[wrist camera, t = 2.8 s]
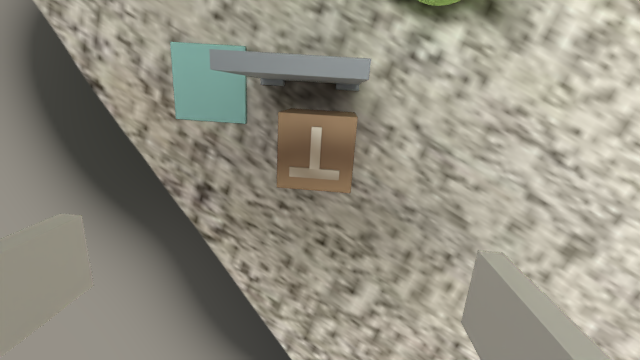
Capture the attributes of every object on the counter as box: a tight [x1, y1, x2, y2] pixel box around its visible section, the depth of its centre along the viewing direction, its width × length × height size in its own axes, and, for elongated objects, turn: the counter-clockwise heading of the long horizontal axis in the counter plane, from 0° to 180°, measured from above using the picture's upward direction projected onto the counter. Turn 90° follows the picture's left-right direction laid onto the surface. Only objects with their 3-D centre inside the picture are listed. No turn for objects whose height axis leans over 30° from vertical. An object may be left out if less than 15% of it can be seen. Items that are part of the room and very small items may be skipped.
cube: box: [277, 108, 358, 193], centre depth 30 cm, size 7×7×7 cm
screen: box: [209, 49, 371, 91], centre depth 25 cm, size 2×10×14 cm, turn 87°
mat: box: [170, 42, 247, 124], centre depth 33 cm, size 8×8×1 cm
